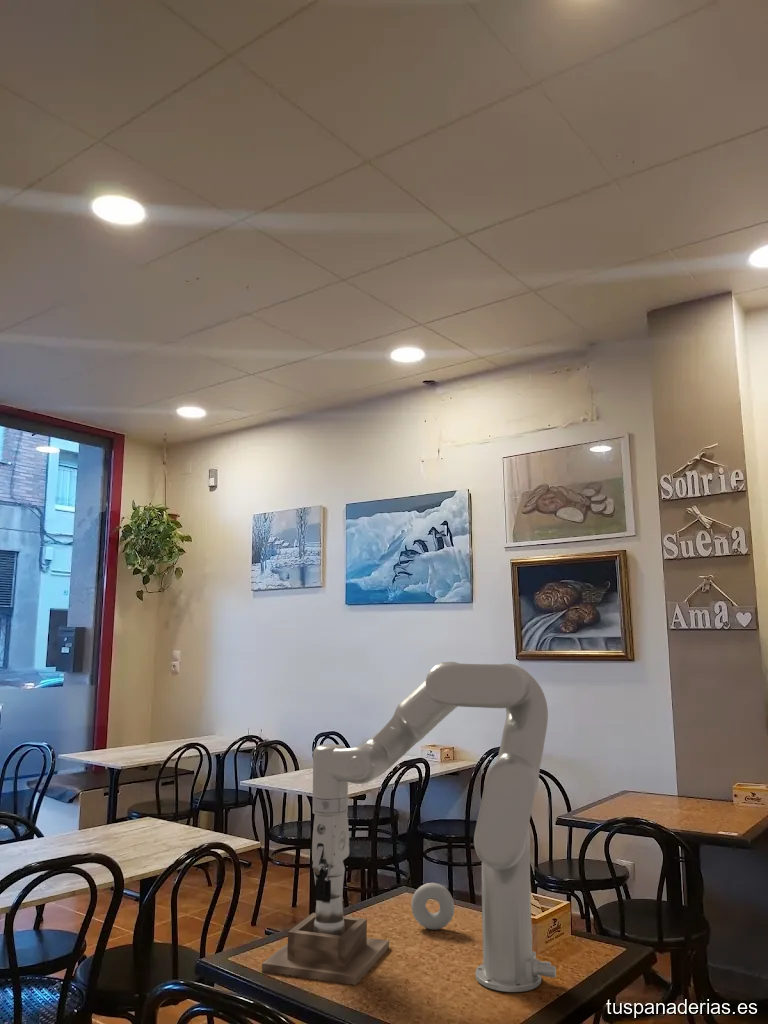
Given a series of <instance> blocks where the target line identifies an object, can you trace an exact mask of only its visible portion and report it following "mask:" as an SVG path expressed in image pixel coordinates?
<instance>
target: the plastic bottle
mask: <svg viewBox="0 0 768 1024" xmlns="http://www.w3.org/2000/svg"><path fill="white" fill-rule="evenodd" d="M321 863H323V864H327V862H326V861H322V862H321ZM344 864H345V863H344V861H343V862H342V861H341V862H340V863H338V864H337V865H335V866H331V869H330V876H329V880H331V900H330V901H329V902H327V901H317V900H316V899H315V900H316V901H315V902H316V905H315V913H316V915H315V921H314V928H313V932H315V933H323V934H331V935H339V936H341V935H342V934H343V933H345V923H344V919H343V916H344V911H343V891H344V881H345V871H346V868H345V865H344ZM322 869H324V871H325V873H326V867H322ZM313 874H314V875H313V876H314V878H313V879H314V885H315V886H316V880H315V873H314V872H313Z"/></svg>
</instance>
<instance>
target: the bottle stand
mask: <svg viewBox="0 0 768 1024" xmlns="http://www.w3.org/2000/svg"><path fill="white" fill-rule="evenodd" d="M315 915H316V912H312V913H311V914H309V915H308V916H307V917H305V918H304V919H303V920H302V921H300V922H299V923H298V924H296V925H295V926H294V927H292V928H291V929H290V930H289V931H287V943H286V944H284V945H283V946H282V947H280V948H279V949H277V951H276V952H274V953H272V955H271V956H269V957H268V958H267V959H265V960H264V961H263V962H262V963H261V972H262V973H268V972H270V973H269V974H275V973H278V974H277V975H282V974H285V975H284V976H289V975H291V976H290V977H296V976H297V977H299V978H303V979H310V980H316V979H318V981H323V980H326V981H325V982H330V981H334V982H333V983H337V982H340V983H339V984H344V983H345V985H351V984H353V985H352V986H357V985H358V984H357V983H360V982H361V980H362V979H363V978H364V977H365V976H366V975H365V974H368V972H369V971H370V970H371V969H372V968H373V967H372V966H375V964H376V963H377V962H378V961H379V960H380V959H381V958H382V957H383V955H384V954H385V953H386V952H387V951H388V950H389V949H390V939H389V940H387V939H380V938H373V937H372V938H371V937H368V935H367V930H368V927H367V923H368V922H367V920H368V919H367V918H362V917H354V916H352V917H351V916H344V915H343V919H344V923H345V933H343V934H342V935H341V936H339V935H331V934H323V933H315V932H313V928H314V921H315ZM388 948H389V949H388ZM387 949H388V950H387ZM380 957H381V958H380ZM379 958H380V959H379ZM378 959H379V960H378ZM371 967H372V968H371ZM364 975H365V976H364ZM363 976H364V977H363ZM297 977H296V978H297ZM362 977H363V978H362ZM361 978H362V979H361ZM356 984H357V985H356Z"/></svg>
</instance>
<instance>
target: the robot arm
mask: <svg viewBox="0 0 768 1024" xmlns="http://www.w3.org/2000/svg"><path fill="white" fill-rule="evenodd" d="M547 703H548V702H547V700H546V696H545V693H544V692H543V689H542V687H541V685H540V684H539V683H538V681H537V680H536V679H535V678H534V677H533V676H532V675H531V674H530V673H529V672H528V671H527V670H525V669H524V668H523V667H521V666H518V664H517V665H516V664H513V663H501V664H496V663H495V664H493V663H490V664H488V663H485V664H484V663H459V662H456V661H444V662H441V663H437V664H436V665H434V666H433V667H432V668H431V669H430V670H429V671H428V673H427V675H426V678H425V680H424V681H423V682H422V683H421V684H420V685H418V686H417V687H416V688H415V689H414V690H413V691H412V692H411V693H409V695H407V696H406V697H405V698H404V699H403V700H402V701H400V702H399V704H398V705H397V706H396V708H395V711H394V714H393V715H392V717H391V719H389V721H388V722H387V723H386V724H385V725H384V726H383V727H382V728H381V729H380V730H379V731H378V732H377V733H375V735H374V736H372V737H371V738H370V739H369V740H368V741H367V742H366V743H363V744H361V745H358V746H355V747H354V746H353V747H348V748H347V747H346V746H344V745H342V744H334V743H333V744H320V745H317V746H316V747H315V748H314V749H313V753H312V755H313V757H312V758H313V759H312V761H313V762H312V814H314V819H313V830H312V844H311V855H312V858H311V859H312V865H311V866H312V869H313V874H314V873H315V878H314V881H315V880H316V885H315V897H314V898H315V900H317V901H327V902H329V901H330V900H331V880H329V876H330V869H331V866H335V865H337V864H338V863H340V862H341V861H342V862H343V863H344V861H345V859H347V858H348V857H349V856H350V833H349V832H350V831H349V819H348V818H349V816H348V812H349V807H348V805H349V801H348V799H349V796H348V795H349V794H348V793H349V783H351V784H357V785H363V784H368V783H370V782H371V781H373V780H374V779H377V778H379V777H381V776H382V775H383V774H385V773H386V772H387V771H389V769H390V768H392V766H394V765H395V764H396V763H397V762H398V761H399V760H400V759H401V758H402V757H404V756H405V755H406V754H407V752H409V751H410V750H411V749H412V748H413V747H414V746H415V745H416V744H418V743H419V742H421V741H422V739H424V738H425V737H426V736H427V735H428V734H429V733H431V731H432V730H434V728H435V727H437V726H438V724H440V723H441V721H443V720H444V719H445V718H446V717H447V716H448V715H450V714H451V713H452V712H453V711H454V710H455V709H457V708H458V707H461V708H483V709H484V708H485V709H486V708H487V709H505V712H506V715H505V716H506V717H505V722H504V725H503V731H502V734H501V735H502V736H501V742H500V747H499V750H498V753H497V754H498V755H497V759H496V760H495V763H494V764H493V765H492V767H491V768H490V769H489V771H488V773H487V776H486V779H485V781H484V782H485V783H484V787H483V789H482V790H483V791H482V797H481V800H480V806H479V810H478V815H477V820H476V825H475V830H474V835H473V845H474V846H473V847H474V850H475V853H476V855H477V857H478V858H479V859H480V861H481V916H482V920H481V923H482V927H481V928H482V959H483V960H482V962H483V963H482V964H480V965H478V966H477V968H476V969H475V972H474V973H475V980H476V981H477V982H478V983H479V984H480V985H482V986H483V987H484V988H485V987H486V988H488V989H490V990H495V991H496V992H497V991H499V992H504V993H523V992H529V991H532V990H534V989H536V988H538V987H539V986H540V984H541V983H542V976H544V977H546V978H547V977H548V978H554V979H556V977H557V968H556V965H552V963H551V961H543V960H542V961H541V960H540V959H538V958H537V956H536V955H537V953H536V951H533V936H532V934H533V933H532V907H531V906H532V905H531V903H532V902H531V893H532V892H531V891H532V890H531V834H530V833H531V832H530V828H529V826H530V819H531V816H532V810H533V805H534V800H535V795H536V794H537V791H538V787H539V780H540V779H539V778H540V771H541V770H540V769H541V765H542V760H543V759H542V758H543V754H544V747H545V741H546V735H547V731H548V730H547V729H548V721H549V720H548V719H549V711H548V710H549V709H548V704H547ZM322 861H326V862H327V864H323V863H321V862H322ZM322 867H326V873H325V871H324V869H322Z"/></svg>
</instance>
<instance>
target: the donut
mask: <svg viewBox="0 0 768 1024" xmlns="http://www.w3.org/2000/svg"><path fill="white" fill-rule="evenodd" d="M431 899H432V900H435V901H437V902H438V904H439V910H438V911H437V912H430V911H429V910H428V908H427V907H426V906H427V902H428V901H429V900H431ZM410 906H411V913H412V915H413V917H414V919H415V920H416V921H417V922H418V924H419V925H420V926H422V927H424V928H425V929H426V930H427V929H428V930H432V931H434V930H436V931H437V930H441V929H443V928H444V927H445V928H446V926H447V925H448V924H449V923H450V922H451V920H452V919H453V916H454V915H455V901H454V898H453V897H452V894H451V892H450V891H449V890H448V889H447V888H446V887H445V886H444V885H442V884H440V883H436V882H427V883H424V884H423V885H420V886H419V887H418V888H417V889H416V890H415V891H414V893H413V895H412V898H411V905H410Z"/></svg>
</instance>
